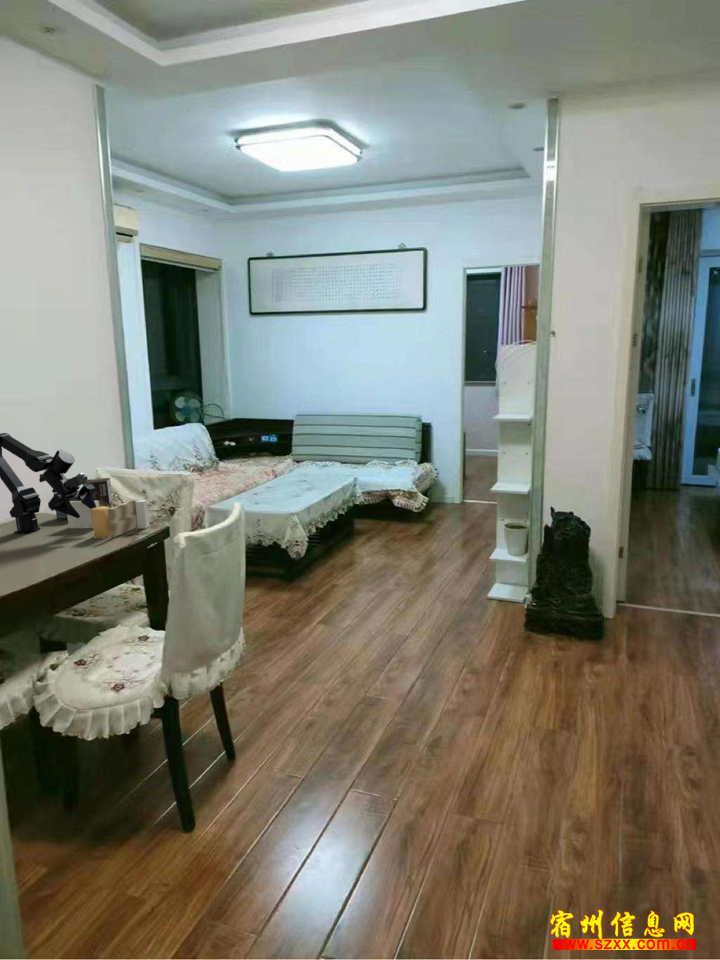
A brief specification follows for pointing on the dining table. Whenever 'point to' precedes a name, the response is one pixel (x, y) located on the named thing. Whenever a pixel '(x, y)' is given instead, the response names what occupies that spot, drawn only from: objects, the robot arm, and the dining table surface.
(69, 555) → the dining table surface
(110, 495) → the coffee box
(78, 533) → the dining table surface
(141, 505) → the wall frame
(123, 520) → the door
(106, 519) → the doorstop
